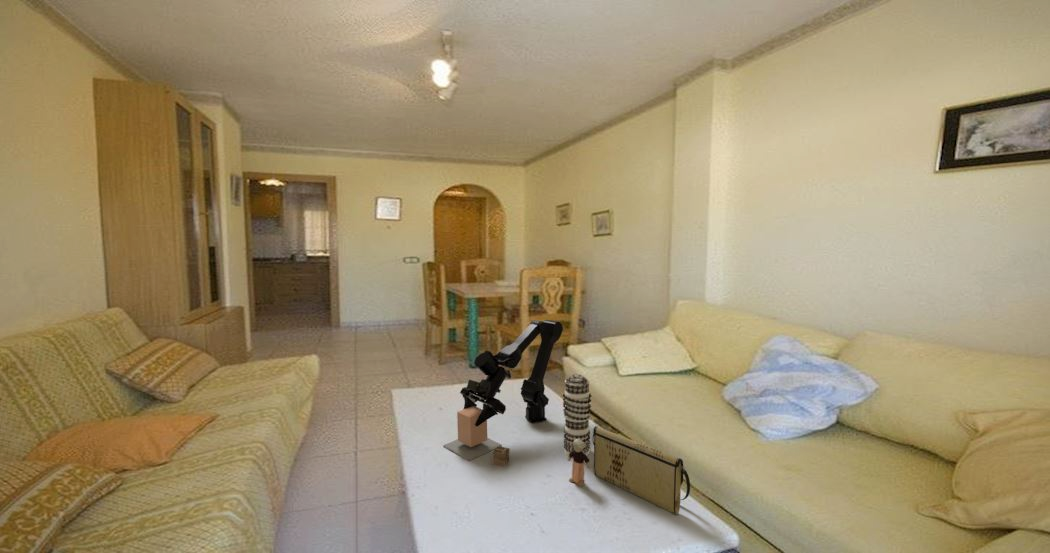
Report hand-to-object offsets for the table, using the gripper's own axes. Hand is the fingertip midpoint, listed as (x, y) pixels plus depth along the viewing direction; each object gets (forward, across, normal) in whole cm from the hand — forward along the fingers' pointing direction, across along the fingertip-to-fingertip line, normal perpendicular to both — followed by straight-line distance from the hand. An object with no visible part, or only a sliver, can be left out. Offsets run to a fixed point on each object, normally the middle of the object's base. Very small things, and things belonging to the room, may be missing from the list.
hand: (469, 422), depth 147 cm
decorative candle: (-10, +28, +22) cm, 37 cm away
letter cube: (+6, +15, +7) cm, 17 cm away
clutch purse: (-6, +53, +18) cm, 57 cm away
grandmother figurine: (0, +39, +12) cm, 41 cm away
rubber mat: (+5, 0, +7) cm, 9 cm away
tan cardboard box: (+4, 0, +6) cm, 7 cm away
